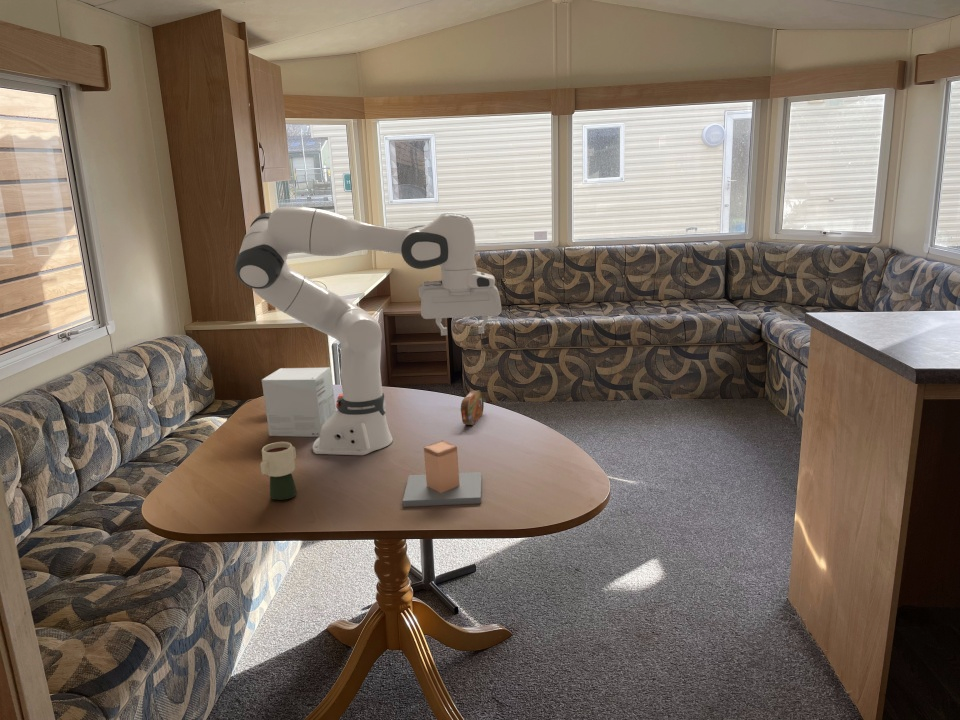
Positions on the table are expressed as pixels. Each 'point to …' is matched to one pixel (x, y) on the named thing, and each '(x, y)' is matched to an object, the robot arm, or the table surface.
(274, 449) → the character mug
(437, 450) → the tall lidded tan box
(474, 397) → the tin
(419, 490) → the base
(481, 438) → the table surface
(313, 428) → the supplement box
